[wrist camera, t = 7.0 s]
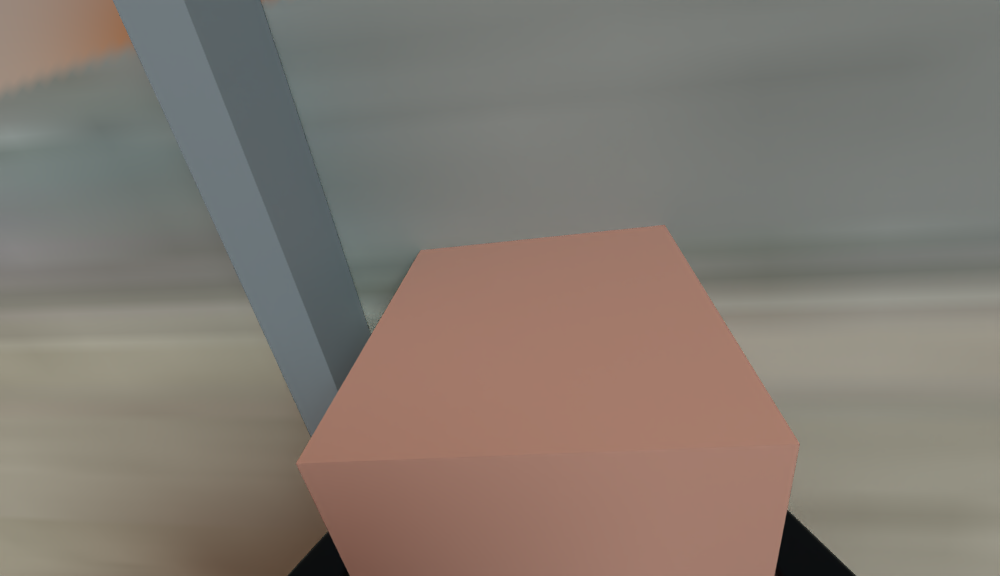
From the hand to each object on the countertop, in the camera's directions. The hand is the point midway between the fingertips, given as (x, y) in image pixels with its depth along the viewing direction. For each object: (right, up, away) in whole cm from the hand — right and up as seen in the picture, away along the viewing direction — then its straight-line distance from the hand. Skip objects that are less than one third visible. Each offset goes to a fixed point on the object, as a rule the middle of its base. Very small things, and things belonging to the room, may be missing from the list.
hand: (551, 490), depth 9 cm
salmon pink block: (0, +2, +3) cm, 3 cm away
